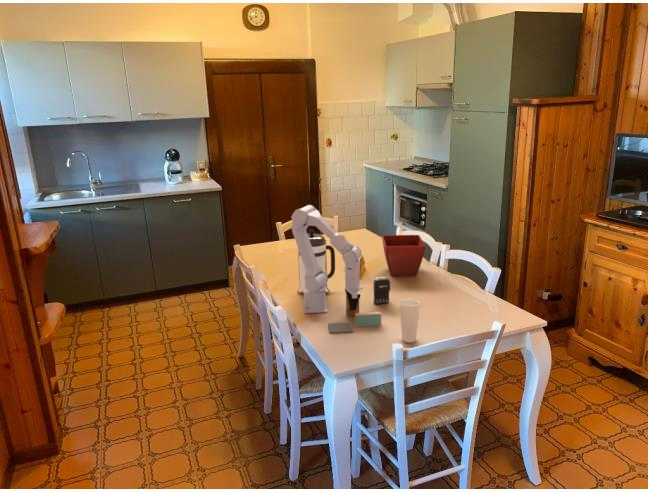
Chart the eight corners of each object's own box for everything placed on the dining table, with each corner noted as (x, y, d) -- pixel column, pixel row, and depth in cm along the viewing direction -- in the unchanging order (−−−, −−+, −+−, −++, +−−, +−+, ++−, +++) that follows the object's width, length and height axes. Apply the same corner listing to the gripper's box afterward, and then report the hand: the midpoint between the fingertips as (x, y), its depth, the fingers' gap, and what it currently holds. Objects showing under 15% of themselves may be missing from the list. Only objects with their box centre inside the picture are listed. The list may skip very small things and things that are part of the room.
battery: (375, 305, 212) (375, 280, 209) (372, 302, 216) (372, 277, 212) (390, 304, 213) (391, 279, 210) (388, 300, 217) (388, 276, 213)
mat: (329, 333, 188) (329, 332, 188) (328, 324, 196) (328, 323, 195) (353, 332, 189) (353, 330, 189) (351, 323, 196) (351, 322, 196)
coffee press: (328, 300, 218) (327, 235, 210) (293, 298, 222) (290, 233, 213) (335, 286, 235) (334, 224, 226) (302, 284, 238) (300, 223, 229)
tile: (355, 326, 193) (355, 315, 192) (355, 324, 195) (355, 313, 194) (381, 325, 194) (381, 314, 193) (380, 323, 196) (380, 311, 194)
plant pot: (424, 278, 241) (425, 245, 236) (385, 279, 242) (385, 246, 237) (418, 265, 260) (419, 234, 255) (381, 266, 260) (381, 235, 255)
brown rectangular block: (347, 317, 201) (346, 299, 199) (346, 314, 205) (345, 296, 202) (359, 317, 202) (359, 298, 199) (358, 313, 205) (358, 295, 203)
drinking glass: (416, 335, 185) (417, 298, 181) (420, 343, 179) (421, 305, 175) (398, 335, 185) (398, 298, 181) (401, 344, 179) (402, 306, 174)
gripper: (364, 282, 191) (364, 314, 195) (359, 270, 205) (359, 300, 209) (346, 283, 191) (347, 315, 195) (342, 270, 205) (343, 301, 209)
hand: (352, 307), depth 202 cm, fingers closed on brown rectangular block, 3 cm apart
